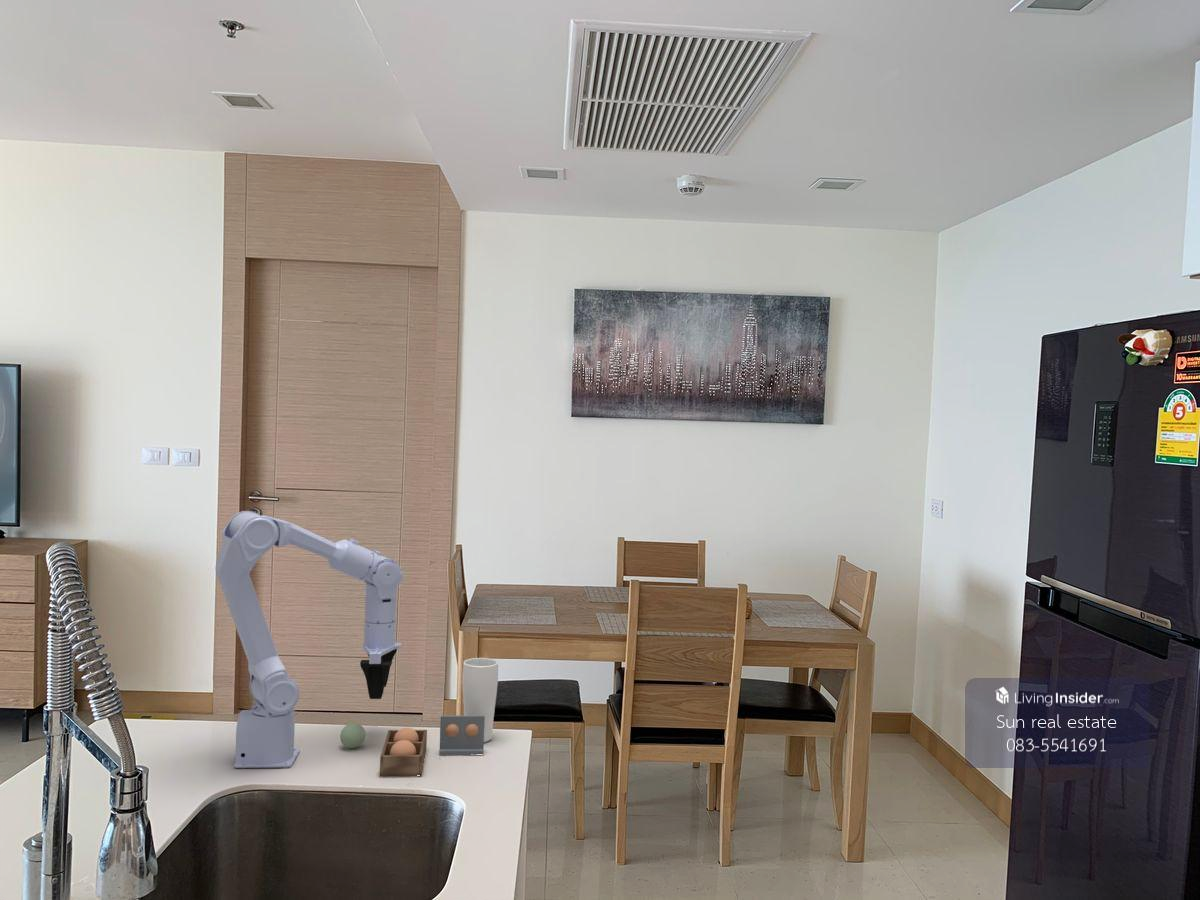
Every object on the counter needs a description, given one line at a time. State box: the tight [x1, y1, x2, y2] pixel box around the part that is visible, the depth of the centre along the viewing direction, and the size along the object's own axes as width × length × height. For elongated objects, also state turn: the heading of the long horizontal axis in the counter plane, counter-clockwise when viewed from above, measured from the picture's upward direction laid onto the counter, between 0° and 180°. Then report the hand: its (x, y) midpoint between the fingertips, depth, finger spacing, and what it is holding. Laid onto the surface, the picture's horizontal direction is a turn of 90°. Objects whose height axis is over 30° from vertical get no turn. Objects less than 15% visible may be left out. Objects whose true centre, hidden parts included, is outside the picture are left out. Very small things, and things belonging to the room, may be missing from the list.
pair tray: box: [379, 729, 428, 777], centre depth 163 cm, size 7×14×4 cm, turn 7°
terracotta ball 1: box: [393, 727, 419, 742], centre depth 166 cm, size 4×4×4 cm
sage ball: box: [339, 722, 366, 749], centre depth 169 cm, size 4×4×4 cm
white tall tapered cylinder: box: [461, 657, 499, 743], centre depth 176 cm, size 7×7×15 cm
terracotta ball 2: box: [390, 740, 416, 755], centre depth 159 cm, size 4×4×4 cm
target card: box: [438, 714, 485, 756], centre depth 168 cm, size 8×3×7 cm, turn 97°
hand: (378, 692), depth 172 cm, fingers open, 7 cm apart
